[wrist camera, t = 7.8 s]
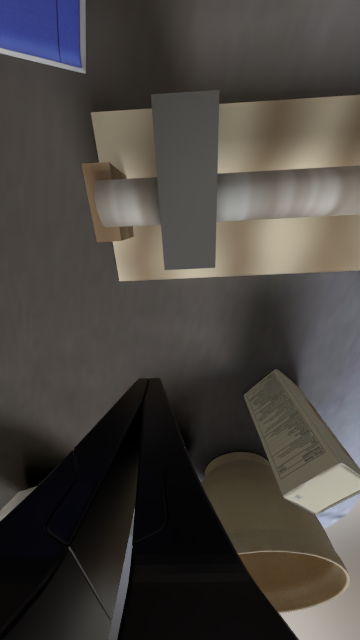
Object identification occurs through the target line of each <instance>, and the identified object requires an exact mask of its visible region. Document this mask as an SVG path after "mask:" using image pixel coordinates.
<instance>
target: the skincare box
mask: <svg viewBox="0 0 360 640" xmlns="http://www.w3.org/2000/svg"><path fill="white" fill-rule="evenodd" d="M244 399H245V401H246V404H247V406H248V409H249V411H250V414H251V416H252V419H253V422H254V424H255V427H256V429H257V432H258V434H259V437H260V439H261V442H262V445H263V447H264V450H265V452H266V455H267V457H268V460H269V462H270V465H271V467H272V470H273V473H274V475H275V478H276V480H277V483H278V485H279V488H280V491H281V493H282V496H283V497H284V498H285V499H287V500H289V501H291V502H293V503H294V504H296V505H298V506H300V507H301V508H303V509H305V510H307V511H309V512H311V513H313V514H316V515H317V514H320V513H322V512H324V511H325V510H327V509H329V508H331V507H333V506H335V505H337V504H339V503H341V502H343V501H345V500H347V499H349V498H351V497H353V496H355V495H357V494H359V493H360V469H359V467H358V466H357V465H356V463H355V462H354V461H353V459H352V458H351V457H350V455H349V454H348V453H347V451H346V450H345V448H344V447H343V446H342V444H341V443H340V442H339V440H338V439H337V438H336V436H335V435H334V434H333V432H332V431H331V430H330V428H329V427H328V426H327V424H326V423H325V422H324V420H323V419H322V418H321V417H320V415H319V414H318V413H317V411H316V410H315V408H314V407H313V406H312V404H311V403H310V402H309V400H308V399H307V398H306V396H305V395H304V394H303V392H302V391H301V390H300V388H299V387H298V386H297V385H296V384H294V383H293V382H292V381H291V380H290V379H289V378H288V377H286V376H285V375H284V374H283V373H282V372H280V371H279V370H278V369H275V370H274V371H272V372H271V373H270V374H268V375H267V376H266V377H265V378H263V379H262V380H261V381H260V382H259V383H257V384H256V385H255V386H254V387H252V388H251V389H250V390H249V391H248V392H247V393H245V394H244Z"/></svg>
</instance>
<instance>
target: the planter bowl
mask: <svg viewBox="0 0 360 640" xmlns="http://www.w3.org/2000/svg"><path fill="white" fill-rule="evenodd" d="M201 484H202V487H203V489H204V491H205V493H206V495H207V497H208V498H209V500H210V502H211V504H212V506H213V508H214V510H215V512H216V514H217V516H218V517H219V519H220V521H221V523H222V525H223V527H224V529H225V531H226V533H227V534H228V536H229V538H230V540H231V542H232V544H233V546H234V548H235V549H236V551H237V553H238V555H239V556H240V558H241V560H242V562H243V563H244V565H245V567H246V568H247V570H248V571H249V573H250V575H251V576H252V578H253V579H254V581H255V582H256V584H257V585H258V586H259V588H260V589H261V590H262V592H263V593H264V594H265V596H266V597H267V598H268V600H269V601H270V602H271V604H272V605H273V606H274V607H275V609H276V610H277V611H278V613H285V612H292V611H298V610H303V609H307V608H311V607H314V606H317V605H320V604H323V603H325V602H328V601H330V600H332V599H334V598H336V597H338V596H339V595H340V594H342V593H343V592H344V591H345V590H346V589H347V587H348V585H349V582H350V578H349V574H348V572H347V570H346V568H345V566H344V564H343V562H342V560H341V559H340V557H339V556H338V554H337V553H336V552H335V550H334V548H333V546H332V544H331V542H330V540H329V538H328V536H327V534H326V532H325V530H324V529H323V527H322V525H321V523H320V522H319V520H318V519H317V517H316V515H315V514H313V513H311V512H309V511H307V510H305V509H303V508H301V507H300V506H298V505H296V504H294V503H293V502H291V501H289V500H287V499H285V498H284V497H283V496H282V493H281V491H280V488H279V485H278V483H277V480H276V478H275V475H274V473H273V470H272V467H271V465H270V463H269V462H268V461H267V460H266V459H265V458H263V457H262V456H260V455H257V454H254V453H249V452H234V453H228V454H225V455H222V456H219V457H217V458H216V459H214V460H213V461H211V462H210V463H209V464H208V466H207V467H206V470H205V475H204V480H203V481H202V483H201Z"/></svg>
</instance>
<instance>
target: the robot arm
mask: <svg viewBox="0 0 360 640" xmlns="http://www.w3.org/2000/svg"><path fill="white" fill-rule="evenodd" d="M134 508H135V515H134V528H133V542H132V546H133V548H132V555H131V566H130V574H129V582H128V588H127V594H126V599H125V604H124V609H123V614H122V619H121V624H120V629H119V634H118V639H117V640H299V639H298V638H297V637H296V635H295V634H294V633H293V631H292V630H291V629H290V627H289V626H288V625H287V623H286V622H285V621H284V619H283V618H282V617H281V615H280V614H279V613H278V611H277V610H276V609H275V607H274V606H273V605H272V604H271V602H270V601H269V600H268V598H267V597H266V596H265V594H264V593H263V592H262V590H261V589H260V588H259V586H258V585H257V584H256V582H255V581H254V579H253V578H252V576H251V575H250V573H249V571H248V570H247V568H246V567H245V565H244V563H243V562H242V560H241V558H240V556H239V555H238V553H237V551H236V549H235V548H234V546H233V544H232V542H231V540H230V538H229V536H228V534H227V533H226V531H225V529H224V527H223V525H222V523H221V521H220V519H219V517H218V516H217V514H216V512H215V510H214V508H213V506H212V504H211V502H210V500H209V498H208V497H207V495H206V493H205V491H204V489H203V487H202V484H201V482H200V480H199V478H198V476H197V474H196V472H195V469H194V467H193V464H192V462H191V459H190V457H189V454H188V451H187V449H186V448H185V444H184V441H183V438H182V436H181V433H180V430H179V428H178V425H177V422H176V420H175V417H174V414H173V411H172V409H171V406H170V403H169V401H168V398H167V395H166V393H165V390H164V387H163V385H162V382H161V379H160V378H150V379H148V378H140V379H138V380H137V381H136V382H135V383H134V384H133V385H132V386H131V387H130V389H129V390H128V391H127V392H126V393H125V394H124V395H123V396H122V397H121V398H120V399H119V400H118V402H117V403H116V404H115V405H114V406H113V407H112V408H111V409H110V410H109V411H108V412H107V413H106V414H105V416H104V417H103V418H102V419H101V420H100V421H99V422H98V423H97V424H96V425H95V426H94V427H93V428H92V430H91V431H90V432H89V433H88V434H87V435H86V436H85V437H84V438H83V439H82V440H81V441H80V443H79V444H78V445H77V446H76V447H75V448H74V451H71V452H70V453H69V454H68V455H67V456H66V458H65V459H64V460H63V461H62V462H61V463H60V464H59V465H58V466H57V467H56V468H55V469H54V470H53V471H52V472H51V473H50V474H49V475H48V476H47V477H46V478H45V479H44V480H43V481H42V482H41V483H40V484H39V485H38V486H37V487H36V488H35V489H34V490H33V491H32V492H31V493H30V494H29V495H28V496H27V497H26V498H25V499H23V500H22V501H21V502H20V503H19V504H18V505H17V506H16V507H15V508H14V509H13V510H12V511H11V512H10V513H8V514H7V515H6V516H5V517H4V518H3V519H2V520H1V521H0V640H108V639H109V634H110V628H111V620H112V618H113V613H114V608H115V603H116V598H117V593H118V588H119V583H120V578H121V573H122V568H123V563H124V558H125V553H126V548H127V543H128V538H129V533H130V528H131V523H132V518H133V513H134Z"/></svg>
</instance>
